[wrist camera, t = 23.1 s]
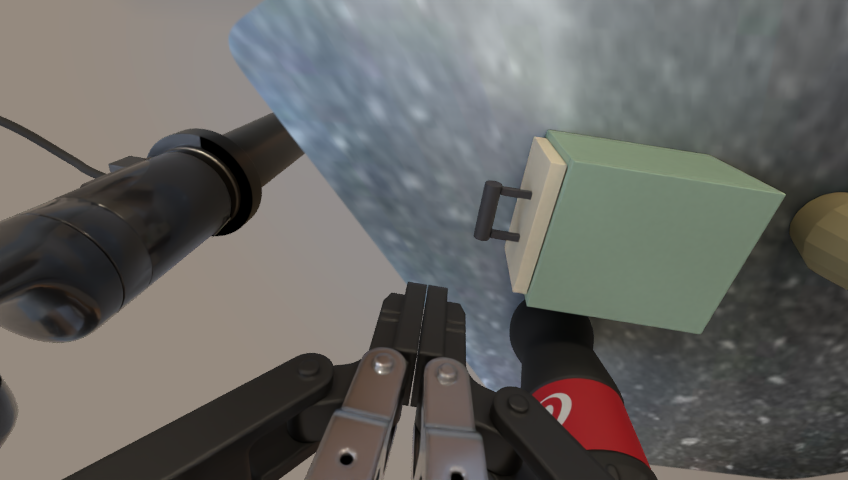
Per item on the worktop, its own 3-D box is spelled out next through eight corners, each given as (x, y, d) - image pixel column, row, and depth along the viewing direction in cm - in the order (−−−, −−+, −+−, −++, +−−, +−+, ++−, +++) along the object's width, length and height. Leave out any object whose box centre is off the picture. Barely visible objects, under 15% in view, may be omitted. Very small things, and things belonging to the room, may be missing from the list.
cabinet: (513, 250, 42) (526, 306, 33) (547, 129, 36) (573, 160, 27) (652, 272, 41) (701, 335, 33) (709, 154, 36) (787, 194, 27)
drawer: (466, 241, 41) (466, 284, 34) (490, 129, 35) (496, 153, 28) (636, 268, 40) (671, 317, 34) (686, 160, 35) (740, 192, 28)
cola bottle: (492, 309, 45) (531, 699, 19) (557, 270, 42) (712, 672, 16) (534, 354, 48) (620, 753, 22) (598, 321, 45) (790, 739, 19)
